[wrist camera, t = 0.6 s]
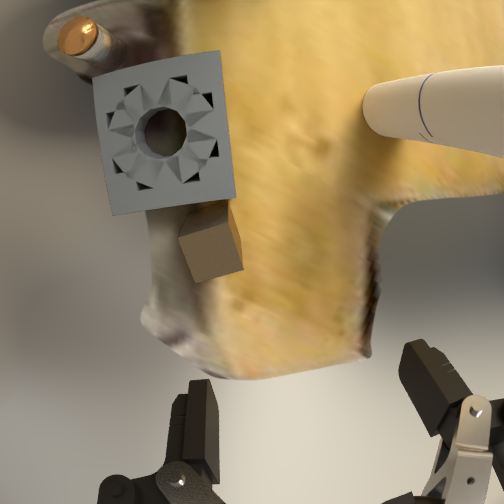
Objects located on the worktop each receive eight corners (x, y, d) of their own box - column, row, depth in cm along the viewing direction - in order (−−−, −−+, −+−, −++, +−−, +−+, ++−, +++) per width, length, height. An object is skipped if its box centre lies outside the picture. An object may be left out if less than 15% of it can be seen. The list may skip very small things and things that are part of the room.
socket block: (105, 82, 29) (92, 77, 26) (220, 58, 30) (219, 50, 26) (123, 207, 36) (112, 215, 32) (235, 190, 36) (236, 197, 32)
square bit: (188, 212, 37) (177, 238, 28) (228, 200, 37) (228, 222, 28) (202, 249, 39) (195, 283, 30) (240, 238, 38) (243, 269, 30)
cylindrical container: (388, 73, 31) (548, 49, 8) (418, 117, 34) (578, 138, 11) (351, 103, 33) (514, 93, 10) (384, 147, 35) (546, 194, 12)
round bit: (95, 45, 27) (58, 25, 18) (125, 36, 27) (94, 10, 18) (97, 73, 29) (57, 59, 20) (127, 64, 29) (94, 46, 20)
